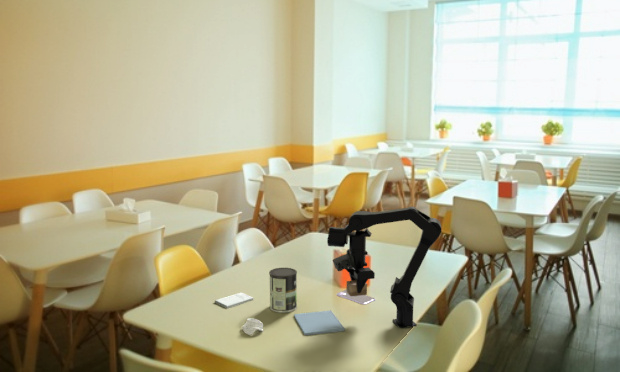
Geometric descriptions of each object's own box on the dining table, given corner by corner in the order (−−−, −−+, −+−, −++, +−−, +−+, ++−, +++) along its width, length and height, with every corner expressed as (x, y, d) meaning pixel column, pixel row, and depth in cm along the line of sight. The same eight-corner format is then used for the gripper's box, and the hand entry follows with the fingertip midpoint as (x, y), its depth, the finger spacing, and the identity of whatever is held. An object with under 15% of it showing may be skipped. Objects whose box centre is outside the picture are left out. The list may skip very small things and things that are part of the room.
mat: (344, 330, 176) (344, 328, 176) (304, 335, 173) (304, 333, 172) (330, 312, 191) (330, 310, 191) (293, 316, 188) (293, 314, 188)
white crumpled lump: (238, 332, 177) (236, 319, 176) (253, 325, 182) (252, 312, 181) (253, 338, 171) (251, 324, 170) (268, 330, 176) (266, 317, 175)
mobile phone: (364, 303, 198) (335, 293, 209) (364, 305, 198) (335, 295, 209) (376, 298, 204) (347, 288, 214) (376, 300, 204) (347, 290, 214)
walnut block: (366, 294, 183) (367, 283, 182) (350, 296, 181) (350, 285, 180) (362, 290, 187) (362, 279, 186) (346, 291, 185) (346, 281, 185)
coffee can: (294, 301, 202) (294, 266, 199) (298, 312, 192) (298, 275, 189) (268, 303, 200) (268, 267, 198) (270, 313, 190) (270, 276, 188)
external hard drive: (214, 303, 201) (240, 295, 209) (227, 310, 195) (253, 301, 204) (214, 299, 200) (240, 291, 209) (227, 305, 195) (253, 297, 203)
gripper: (327, 242, 188) (327, 283, 191) (344, 257, 170) (343, 302, 173) (356, 240, 191) (355, 280, 194) (375, 254, 173) (374, 299, 176)
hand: (356, 290), depth 184 cm, fingers closed on walnut block, 4 cm apart
